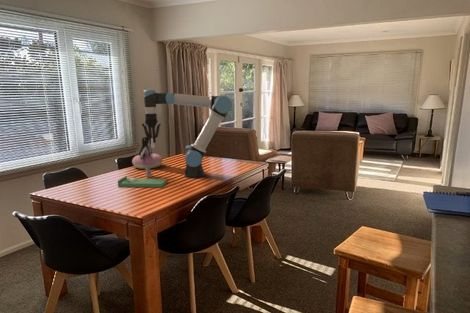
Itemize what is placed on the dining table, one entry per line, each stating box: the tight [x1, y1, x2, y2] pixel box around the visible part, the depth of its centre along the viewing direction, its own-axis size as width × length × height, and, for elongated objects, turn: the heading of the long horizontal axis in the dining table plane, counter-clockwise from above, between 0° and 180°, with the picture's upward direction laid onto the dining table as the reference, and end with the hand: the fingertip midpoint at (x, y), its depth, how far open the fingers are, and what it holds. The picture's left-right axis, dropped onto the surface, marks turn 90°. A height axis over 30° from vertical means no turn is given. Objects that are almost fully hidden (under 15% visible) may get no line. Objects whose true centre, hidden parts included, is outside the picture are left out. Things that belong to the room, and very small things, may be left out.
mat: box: [117, 175, 168, 188], centre depth 224 cm, size 30×12×4 cm, turn 84°
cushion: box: [131, 153, 164, 170], centre depth 277 cm, size 25×25×10 cm
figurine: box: [138, 136, 155, 178], centre depth 243 cm, size 22×10×30 cm, turn 168°
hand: (152, 147), depth 226 cm, fingers closed
